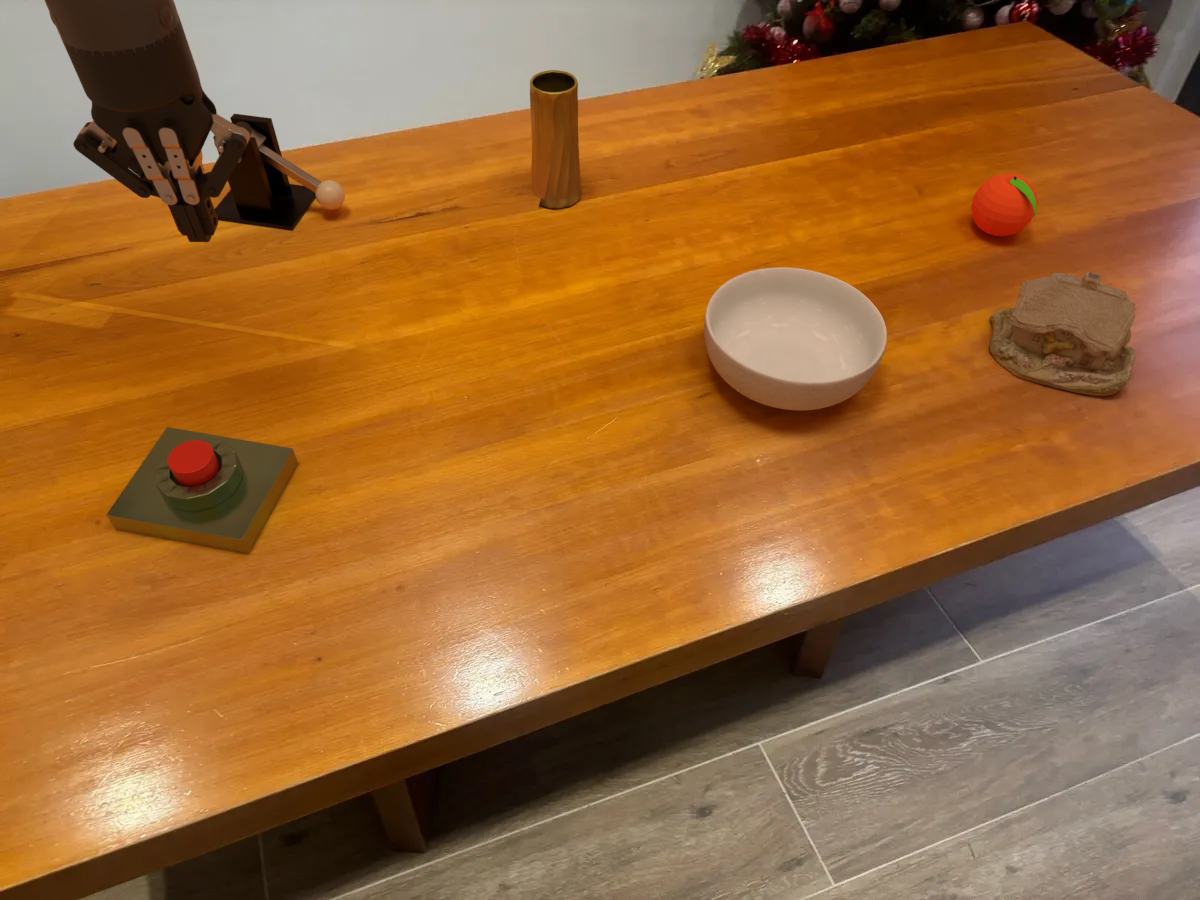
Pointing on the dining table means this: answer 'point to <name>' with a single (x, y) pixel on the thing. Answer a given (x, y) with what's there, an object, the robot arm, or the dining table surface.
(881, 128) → the dining table surface
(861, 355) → the cereal bowl
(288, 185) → the bracket
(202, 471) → the button
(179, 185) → the robot arm
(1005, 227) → the clementine
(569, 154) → the vase
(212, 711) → the dining table surface
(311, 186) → the lever
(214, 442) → the button box
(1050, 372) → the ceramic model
